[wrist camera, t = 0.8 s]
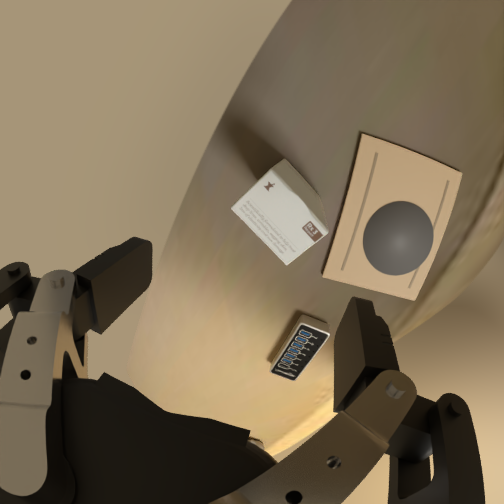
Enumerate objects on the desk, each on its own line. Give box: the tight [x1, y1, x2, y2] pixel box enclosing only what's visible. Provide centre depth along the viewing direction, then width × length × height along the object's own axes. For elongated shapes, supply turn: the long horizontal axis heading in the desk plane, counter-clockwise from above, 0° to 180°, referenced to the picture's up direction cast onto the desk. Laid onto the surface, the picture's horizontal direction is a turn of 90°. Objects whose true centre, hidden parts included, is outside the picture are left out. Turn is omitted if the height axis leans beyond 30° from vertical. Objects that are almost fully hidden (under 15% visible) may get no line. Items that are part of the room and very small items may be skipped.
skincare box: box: [231, 158, 328, 265], centre depth 24 cm, size 6×4×12 cm
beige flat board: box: [322, 134, 462, 301], centre depth 28 cm, size 17×13×1 cm
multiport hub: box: [270, 314, 330, 381], centre depth 37 cm, size 4×11×2 cm, turn 160°
